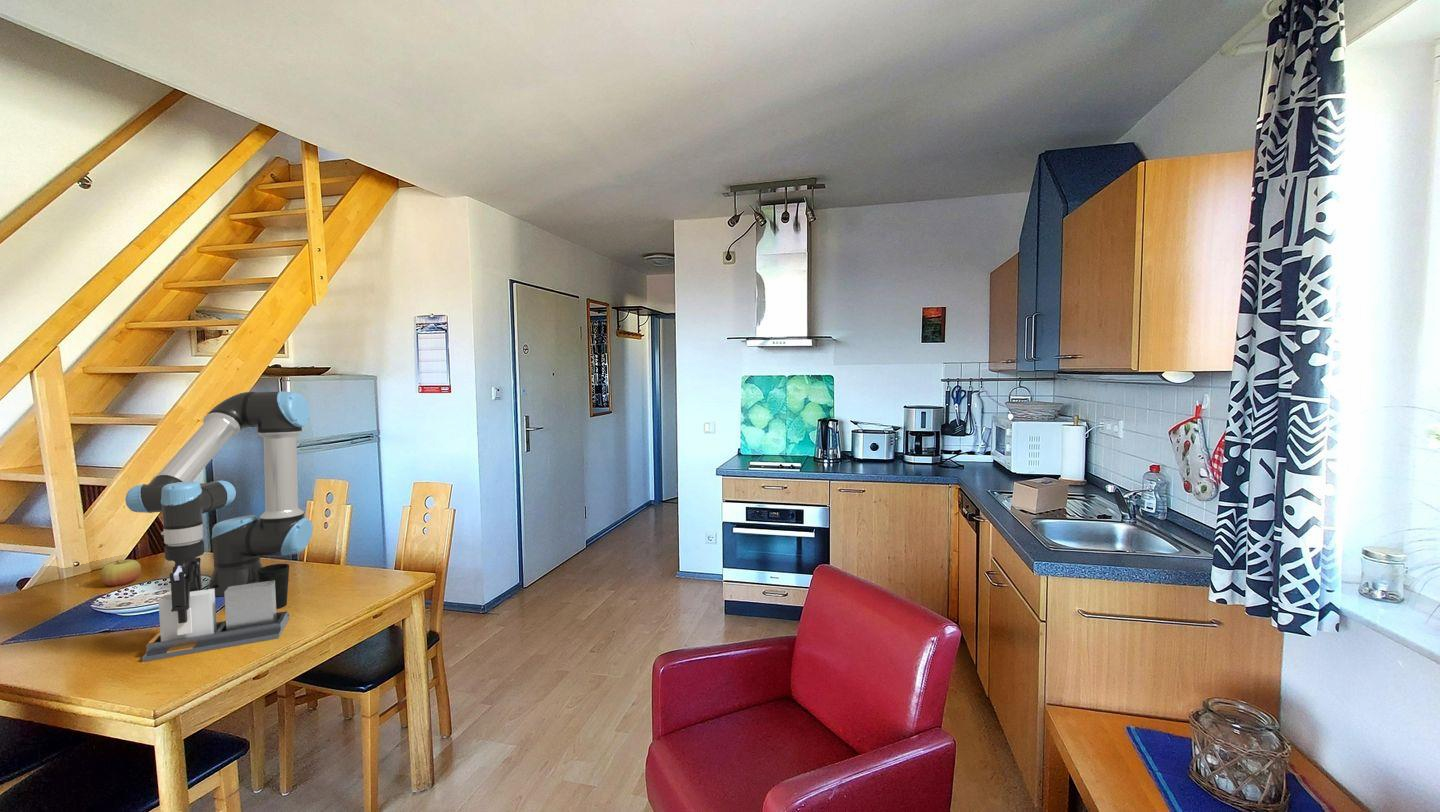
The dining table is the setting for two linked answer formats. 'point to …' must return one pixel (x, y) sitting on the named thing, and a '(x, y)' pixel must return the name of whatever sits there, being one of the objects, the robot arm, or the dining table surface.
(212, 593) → the block
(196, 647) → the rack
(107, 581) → the apple
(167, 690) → the dining table surface
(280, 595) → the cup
